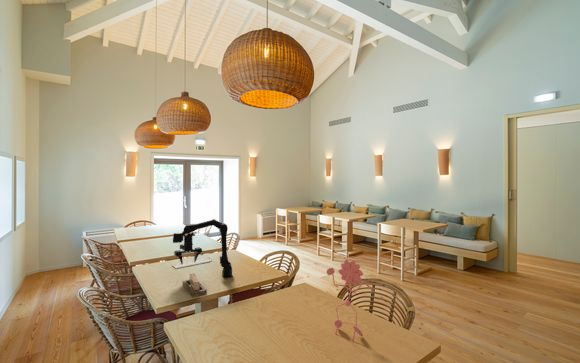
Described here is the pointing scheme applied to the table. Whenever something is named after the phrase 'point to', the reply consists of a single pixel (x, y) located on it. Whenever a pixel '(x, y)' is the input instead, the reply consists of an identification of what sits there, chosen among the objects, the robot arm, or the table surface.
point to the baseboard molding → (191, 263)
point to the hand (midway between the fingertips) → (188, 263)
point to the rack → (192, 292)
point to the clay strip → (194, 281)
